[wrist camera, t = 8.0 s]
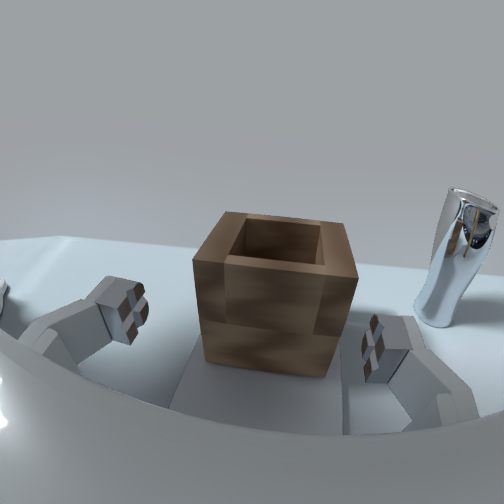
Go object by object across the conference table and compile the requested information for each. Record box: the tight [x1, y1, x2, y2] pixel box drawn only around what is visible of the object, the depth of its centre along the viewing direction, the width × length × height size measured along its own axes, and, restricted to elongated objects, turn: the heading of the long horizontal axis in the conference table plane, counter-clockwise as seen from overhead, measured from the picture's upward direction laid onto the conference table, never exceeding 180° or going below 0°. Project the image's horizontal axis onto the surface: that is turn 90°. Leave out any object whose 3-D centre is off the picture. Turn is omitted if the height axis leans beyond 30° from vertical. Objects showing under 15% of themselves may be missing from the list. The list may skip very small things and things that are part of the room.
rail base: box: [168, 333, 343, 435], centre depth 21 cm, size 13×19×7 cm
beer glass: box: [413, 187, 500, 328], centre depth 24 cm, size 7×7×15 cm
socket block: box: [192, 212, 359, 377], centre depth 22 cm, size 10×8×10 cm
